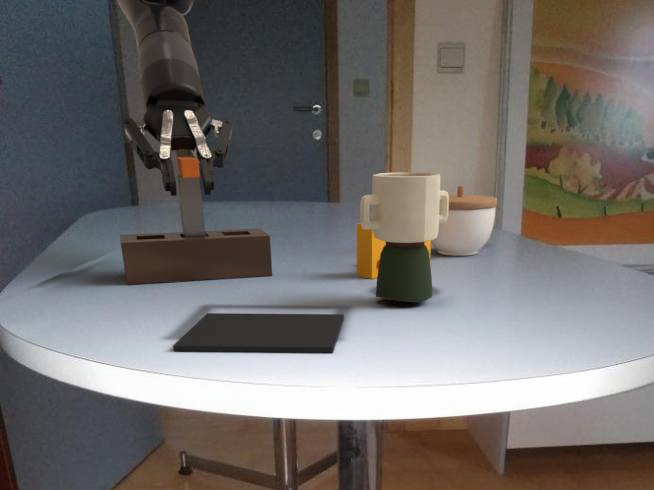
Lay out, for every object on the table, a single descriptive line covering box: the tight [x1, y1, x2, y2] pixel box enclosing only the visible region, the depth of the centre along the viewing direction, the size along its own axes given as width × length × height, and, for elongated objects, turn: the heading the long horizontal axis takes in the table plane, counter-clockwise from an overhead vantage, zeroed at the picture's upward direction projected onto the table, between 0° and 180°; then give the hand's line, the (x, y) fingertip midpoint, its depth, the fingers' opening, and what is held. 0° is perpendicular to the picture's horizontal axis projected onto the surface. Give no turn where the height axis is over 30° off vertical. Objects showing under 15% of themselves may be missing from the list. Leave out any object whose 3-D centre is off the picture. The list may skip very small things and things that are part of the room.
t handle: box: [174, 156, 206, 238], centre depth 91 cm, size 8×3×14 cm, turn 18°
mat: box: [172, 312, 345, 354], centre depth 68 cm, size 14×12×1 cm
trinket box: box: [431, 185, 498, 257], centre depth 107 cm, size 11×11×9 cm
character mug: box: [359, 171, 450, 305], centre depth 77 cm, size 11×7×13 cm, turn 121°
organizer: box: [119, 228, 273, 286], centre depth 93 cm, size 7×18×5 cm, turn 108°
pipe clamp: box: [356, 222, 432, 280], centre depth 95 cm, size 12×4×6 cm, turn 137°
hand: (191, 190), depth 88 cm, fingers open, 3 cm apart
